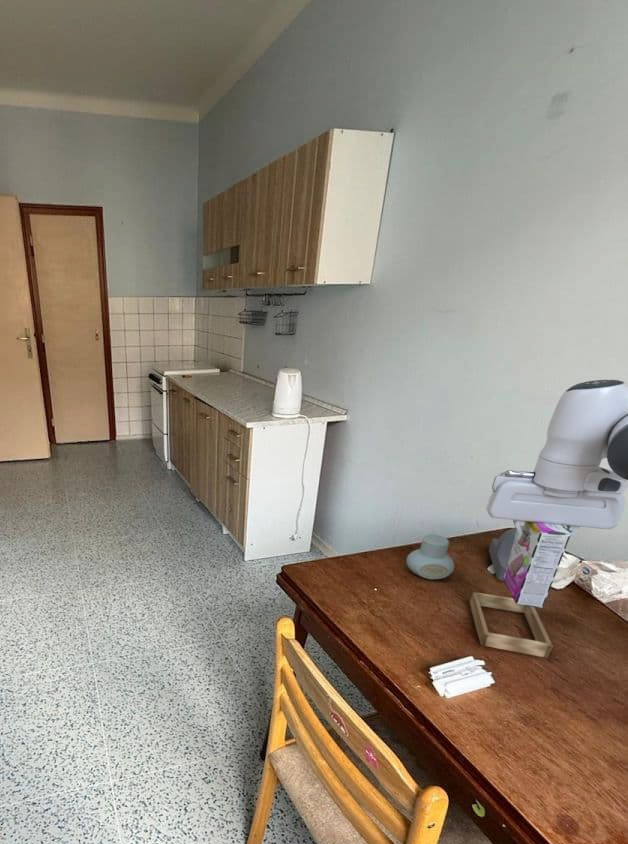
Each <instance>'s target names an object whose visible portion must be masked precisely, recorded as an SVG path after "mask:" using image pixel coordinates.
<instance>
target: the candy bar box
mask: <svg viewBox="0 0 628 844" xmlns="http://www.w3.org/2000/svg"><path fill="white" fill-rule="evenodd" d="M520 527H521V530H524V531H526V533H527V534H528V535H527V537H526V538H525V539H526V541H525V542H524V541H516V540H514V543H513V547H512V549H511V553H510V556H509V559H508V562H507V565H506V568H505V571H504V574H503V579H504V581H503V582H504V583H505V585H506V587H507V589H508V591H509V593H510V596H511V598H513V599H514V601H515V603H516V604H517V605H522V606H531V607H535V608H539V609H543V608H544V606H545V604H546V601H547V598H548V595H549V593H550V590H551V588H552V585H553V583H554V579H555V577H556V576H557V575H556V574H557V573H558V569H559V566H560V564H561V562H562V559H563V557H564V555H565V550H566V548H567V546H568V543H569V541H570V538H571V537H572V536H571V534H570V533H569V532H568V530H567V527H566V526H565V525H560V524H550V523H540V522H530V521H525V523H524V525H523V526H521V525H520ZM570 536H571V537H570Z"/></svg>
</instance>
